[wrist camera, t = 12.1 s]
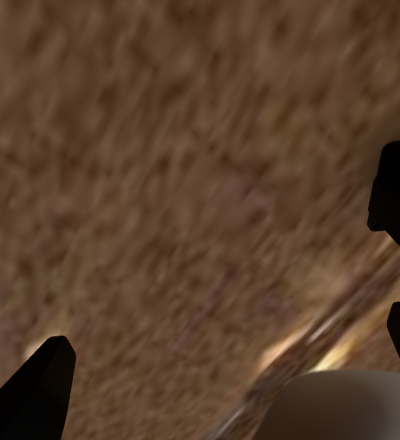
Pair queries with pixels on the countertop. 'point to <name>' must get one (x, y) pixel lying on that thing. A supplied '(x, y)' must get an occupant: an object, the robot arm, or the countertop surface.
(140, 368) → the countertop surface
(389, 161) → the robot arm
